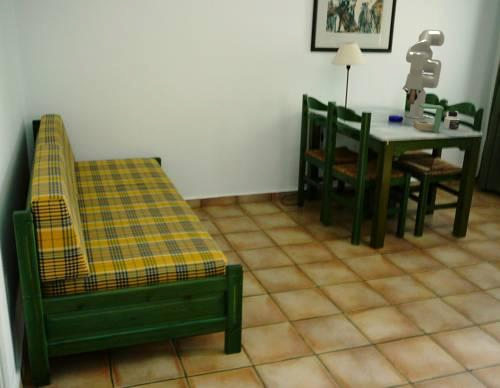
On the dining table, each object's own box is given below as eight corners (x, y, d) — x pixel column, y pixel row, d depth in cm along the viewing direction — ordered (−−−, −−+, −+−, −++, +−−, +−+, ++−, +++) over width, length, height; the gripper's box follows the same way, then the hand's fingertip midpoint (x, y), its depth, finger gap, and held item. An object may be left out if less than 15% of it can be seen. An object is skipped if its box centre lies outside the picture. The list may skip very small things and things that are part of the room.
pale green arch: (415, 128, 345) (419, 104, 339) (435, 130, 344) (439, 105, 339) (419, 131, 336) (423, 106, 330) (439, 133, 335) (443, 107, 330)
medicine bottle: (448, 130, 347) (451, 111, 343) (442, 127, 353) (445, 110, 350) (458, 130, 348) (461, 112, 344) (452, 127, 355) (455, 110, 351)
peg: (407, 103, 353) (409, 88, 350) (413, 103, 353) (415, 88, 350) (408, 104, 350) (410, 89, 346) (414, 104, 349) (416, 89, 346)
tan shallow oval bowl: (413, 125, 354) (414, 120, 353) (428, 126, 354) (429, 121, 353) (418, 130, 341) (419, 124, 340) (433, 130, 341) (434, 125, 340)
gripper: (427, 72, 348) (422, 99, 354) (401, 70, 349) (397, 98, 355) (429, 73, 341) (425, 101, 347) (403, 71, 342) (400, 100, 348)
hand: (411, 99), depth 351 cm, fingers closed on peg, 4 cm apart
